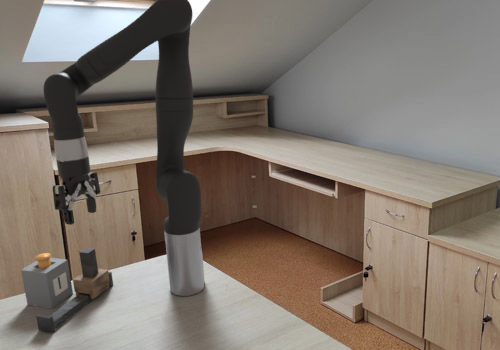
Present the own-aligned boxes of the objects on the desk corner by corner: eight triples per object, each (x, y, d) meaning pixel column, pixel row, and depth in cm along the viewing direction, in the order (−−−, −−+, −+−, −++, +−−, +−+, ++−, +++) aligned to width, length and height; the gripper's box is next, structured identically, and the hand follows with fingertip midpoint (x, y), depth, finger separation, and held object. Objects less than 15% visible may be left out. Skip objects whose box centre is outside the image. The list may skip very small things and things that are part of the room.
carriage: (92, 283, 132) (86, 244, 129) (110, 286, 130) (104, 246, 127) (75, 296, 125) (68, 254, 122) (94, 299, 123) (88, 257, 120)
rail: (101, 283, 134) (99, 270, 133) (113, 284, 133) (111, 271, 132) (38, 330, 112) (35, 315, 111) (52, 333, 111) (49, 318, 110)
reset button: (45, 271, 127) (42, 252, 126) (56, 272, 126) (53, 253, 124) (35, 277, 124) (32, 258, 122) (47, 279, 123) (43, 259, 121)
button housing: (49, 289, 132) (43, 256, 129) (74, 293, 129) (69, 260, 126) (27, 304, 124) (20, 269, 122) (53, 309, 121) (47, 273, 119)
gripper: (79, 149, 124) (87, 207, 129) (38, 162, 112) (49, 226, 116) (102, 150, 122) (110, 209, 126) (64, 163, 109) (74, 229, 113)
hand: (81, 218), depth 121 cm, fingers open, 8 cm apart
